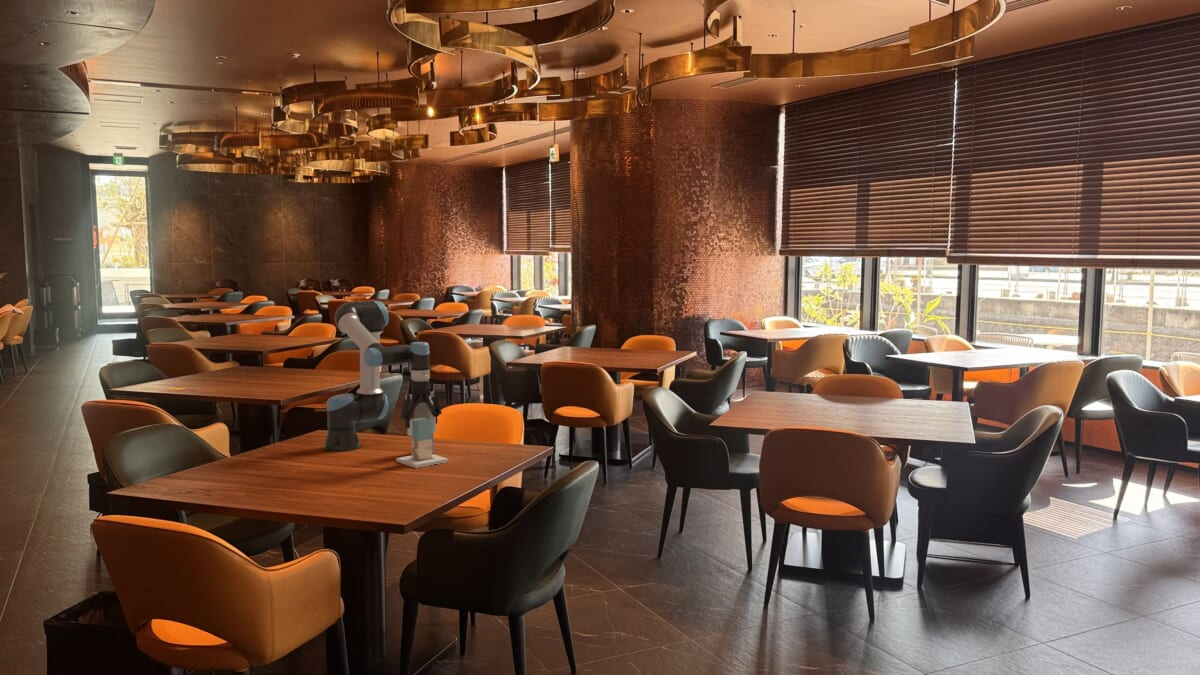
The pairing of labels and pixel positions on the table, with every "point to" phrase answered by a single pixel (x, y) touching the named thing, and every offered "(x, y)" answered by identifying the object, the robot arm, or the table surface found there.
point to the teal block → (421, 429)
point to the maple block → (422, 449)
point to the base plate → (422, 461)
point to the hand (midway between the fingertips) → (421, 433)
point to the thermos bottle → (424, 415)
